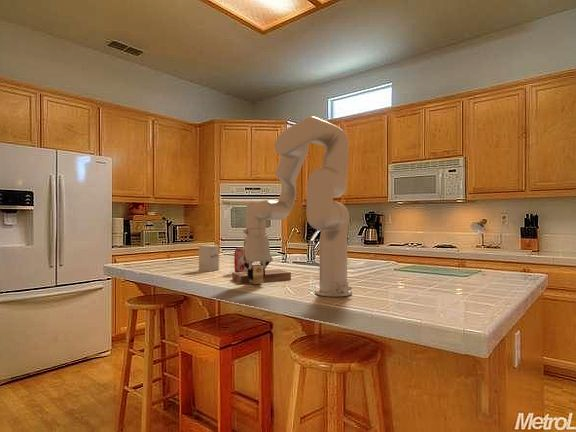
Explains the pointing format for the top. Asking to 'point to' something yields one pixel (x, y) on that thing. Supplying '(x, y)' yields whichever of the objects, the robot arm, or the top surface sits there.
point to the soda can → (237, 264)
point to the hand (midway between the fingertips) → (256, 278)
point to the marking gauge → (257, 274)
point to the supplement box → (208, 258)
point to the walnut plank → (269, 276)
